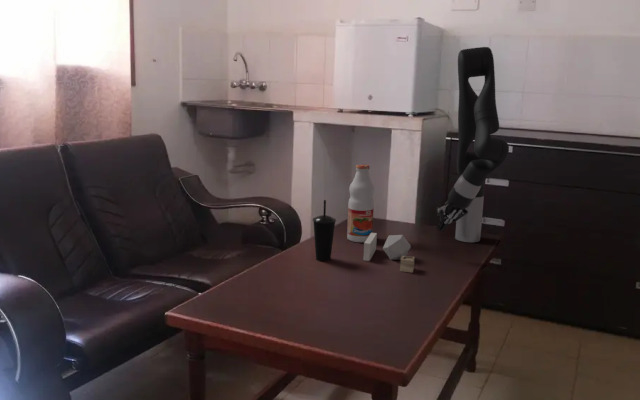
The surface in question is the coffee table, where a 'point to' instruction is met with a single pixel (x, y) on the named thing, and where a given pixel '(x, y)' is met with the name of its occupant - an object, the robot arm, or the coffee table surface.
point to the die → (396, 247)
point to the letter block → (407, 264)
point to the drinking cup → (323, 235)
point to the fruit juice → (360, 206)
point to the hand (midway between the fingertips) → (439, 229)
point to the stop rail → (370, 246)
